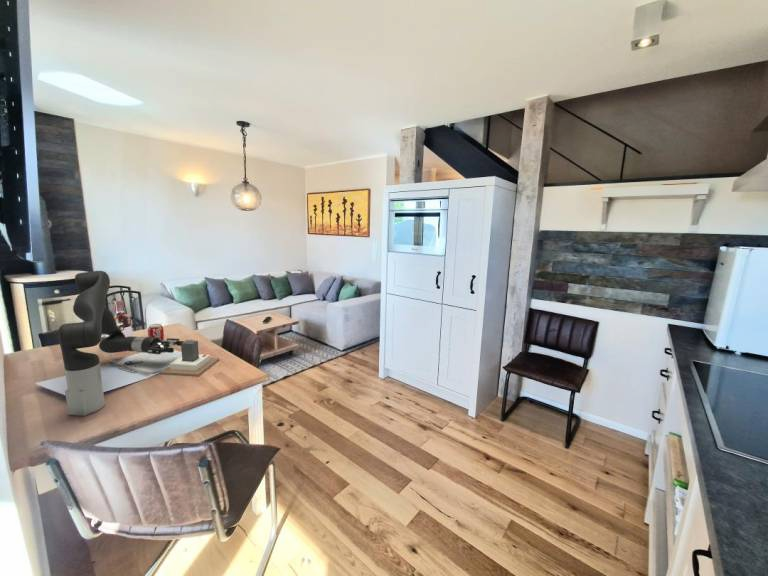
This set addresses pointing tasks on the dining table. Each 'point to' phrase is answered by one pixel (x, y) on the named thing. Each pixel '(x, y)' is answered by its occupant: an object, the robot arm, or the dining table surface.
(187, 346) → the plug
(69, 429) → the dining table surface
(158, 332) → the soda can
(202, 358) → the socket
